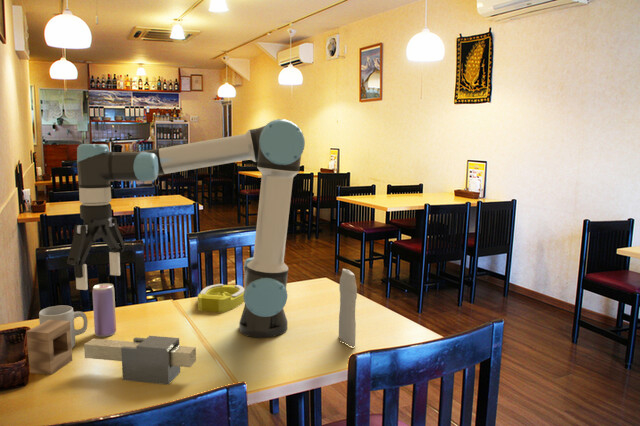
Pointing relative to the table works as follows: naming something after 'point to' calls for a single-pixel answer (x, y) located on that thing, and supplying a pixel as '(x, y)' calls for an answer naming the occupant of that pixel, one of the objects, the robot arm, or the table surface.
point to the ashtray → (220, 298)
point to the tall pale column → (347, 307)
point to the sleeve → (149, 360)
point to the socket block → (49, 346)
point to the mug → (64, 318)
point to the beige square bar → (112, 348)
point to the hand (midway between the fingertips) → (99, 281)
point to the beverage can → (104, 310)
